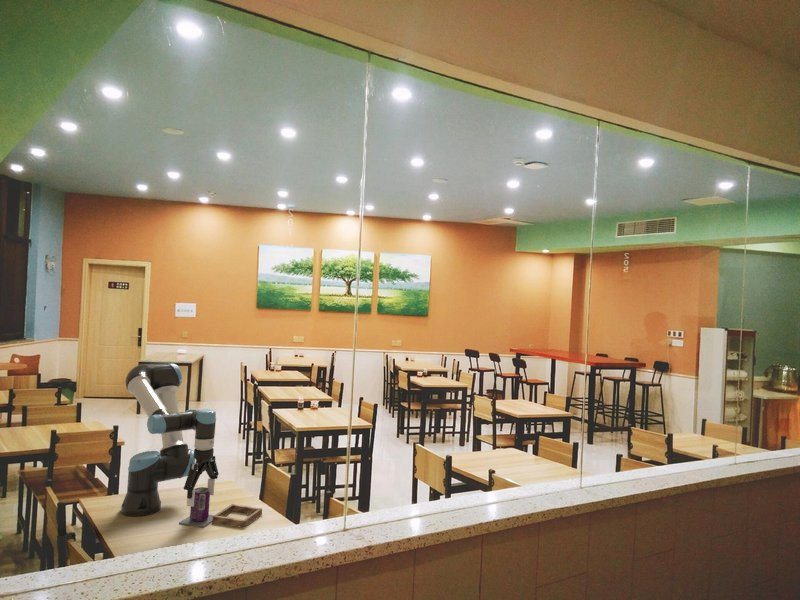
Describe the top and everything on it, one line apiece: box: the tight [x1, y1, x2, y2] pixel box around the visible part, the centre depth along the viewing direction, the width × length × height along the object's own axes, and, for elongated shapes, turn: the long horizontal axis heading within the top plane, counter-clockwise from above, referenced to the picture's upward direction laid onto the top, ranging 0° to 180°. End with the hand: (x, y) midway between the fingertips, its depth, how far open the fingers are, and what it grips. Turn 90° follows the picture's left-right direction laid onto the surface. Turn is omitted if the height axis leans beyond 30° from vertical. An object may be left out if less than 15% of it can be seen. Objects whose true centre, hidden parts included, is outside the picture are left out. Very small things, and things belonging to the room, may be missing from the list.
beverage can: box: [189, 486, 211, 522], centre depth 209 cm, size 7×7×12 cm
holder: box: [211, 503, 263, 528], centre depth 213 cm, size 14×14×2 cm
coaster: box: [178, 514, 215, 529], centre depth 209 cm, size 11×11×1 cm
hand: (200, 500), depth 209 cm, fingers open, 13 cm apart
